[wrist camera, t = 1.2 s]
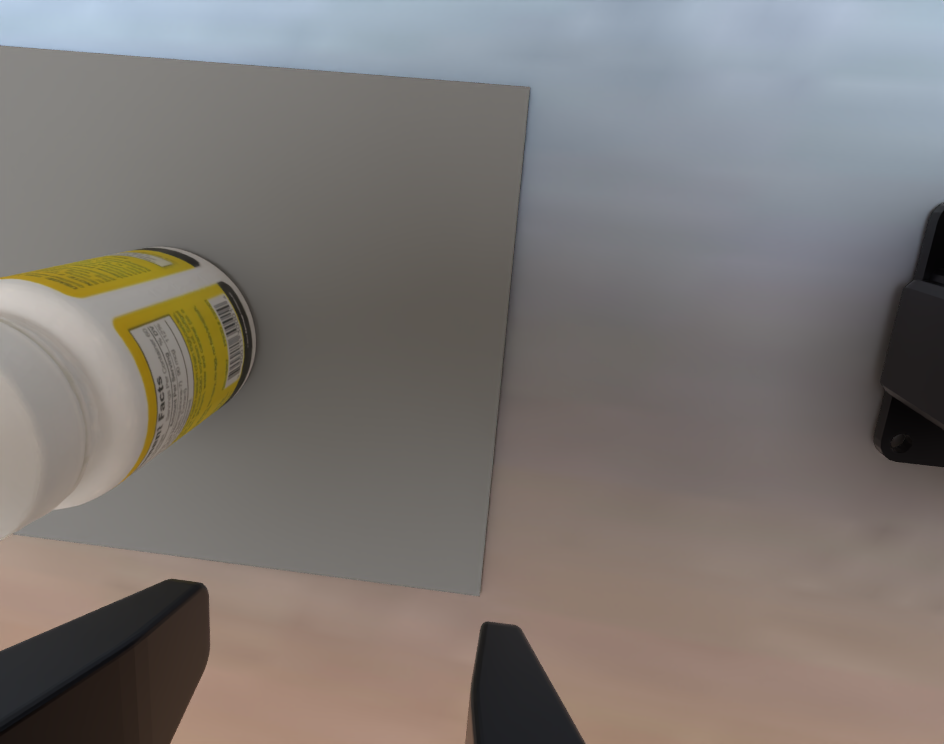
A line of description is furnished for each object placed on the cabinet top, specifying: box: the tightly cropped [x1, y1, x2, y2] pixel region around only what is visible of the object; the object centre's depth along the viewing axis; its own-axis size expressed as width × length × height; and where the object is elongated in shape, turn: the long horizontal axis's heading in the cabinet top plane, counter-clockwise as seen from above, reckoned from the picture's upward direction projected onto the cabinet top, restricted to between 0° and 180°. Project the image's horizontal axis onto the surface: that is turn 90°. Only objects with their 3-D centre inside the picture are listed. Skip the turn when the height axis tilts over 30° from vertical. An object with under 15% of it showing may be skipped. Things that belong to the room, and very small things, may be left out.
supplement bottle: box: [0, 247, 256, 541], centre depth 16 cm, size 5×5×8 cm
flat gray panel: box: [0, 46, 530, 596], centre depth 20 cm, size 20×14×1 cm
